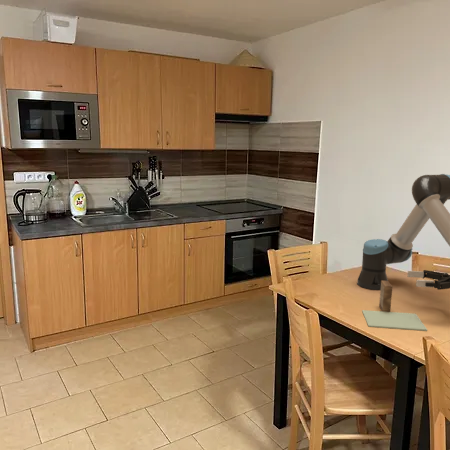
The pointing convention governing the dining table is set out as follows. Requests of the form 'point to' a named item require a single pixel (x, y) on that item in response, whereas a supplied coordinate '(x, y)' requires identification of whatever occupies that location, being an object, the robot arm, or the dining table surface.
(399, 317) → the mat
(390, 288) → the slim walnut box
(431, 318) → the dining table surface
